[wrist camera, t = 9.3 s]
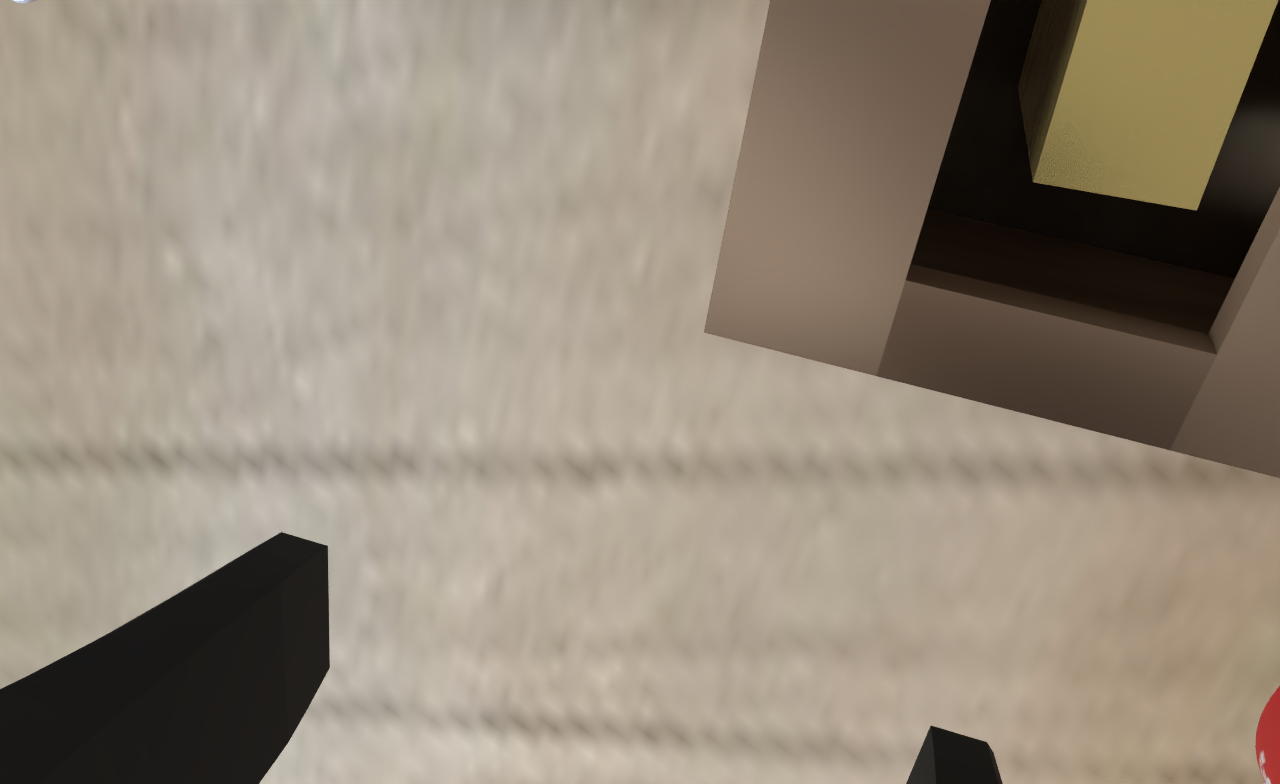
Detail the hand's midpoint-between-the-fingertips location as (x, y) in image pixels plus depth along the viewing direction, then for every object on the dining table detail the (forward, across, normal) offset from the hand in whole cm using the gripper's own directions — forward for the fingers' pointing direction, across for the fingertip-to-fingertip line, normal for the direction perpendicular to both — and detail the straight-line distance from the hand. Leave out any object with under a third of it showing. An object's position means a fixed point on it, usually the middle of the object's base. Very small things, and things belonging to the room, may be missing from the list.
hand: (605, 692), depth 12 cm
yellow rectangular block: (+10, -4, -8) cm, 14 cm away
